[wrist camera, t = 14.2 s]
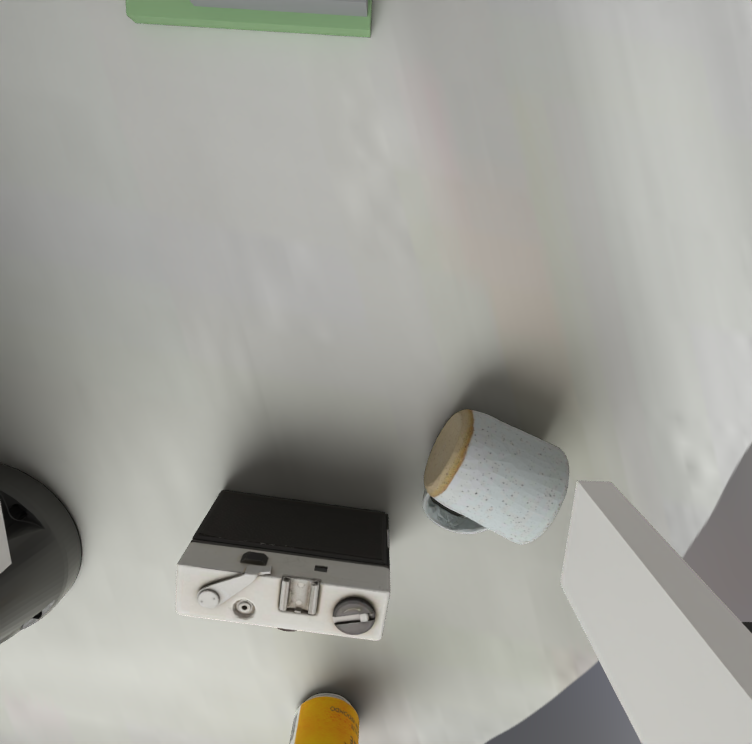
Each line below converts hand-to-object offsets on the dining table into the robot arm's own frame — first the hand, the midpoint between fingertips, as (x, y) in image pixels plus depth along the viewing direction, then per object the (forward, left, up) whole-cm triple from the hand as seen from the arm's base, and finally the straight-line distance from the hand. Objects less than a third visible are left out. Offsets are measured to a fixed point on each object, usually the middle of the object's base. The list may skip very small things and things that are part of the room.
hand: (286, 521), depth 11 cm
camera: (-4, -19, -27) cm, 33 cm away
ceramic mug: (+10, -11, -27) cm, 31 cm away
